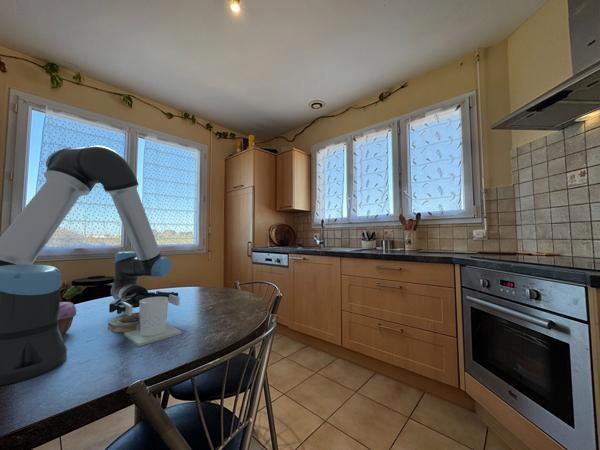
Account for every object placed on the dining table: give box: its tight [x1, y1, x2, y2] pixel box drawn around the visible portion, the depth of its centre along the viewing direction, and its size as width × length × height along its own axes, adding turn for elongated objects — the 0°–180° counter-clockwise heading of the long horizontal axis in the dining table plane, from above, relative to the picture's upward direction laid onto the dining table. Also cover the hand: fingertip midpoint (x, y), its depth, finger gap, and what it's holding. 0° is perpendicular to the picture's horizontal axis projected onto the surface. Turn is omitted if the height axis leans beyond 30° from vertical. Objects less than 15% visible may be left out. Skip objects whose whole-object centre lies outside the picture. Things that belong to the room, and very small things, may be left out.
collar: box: [107, 311, 140, 333], centre depth 87 cm, size 15×15×2 cm
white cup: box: [138, 297, 169, 336], centre depth 77 cm, size 8×8×10 cm
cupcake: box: [59, 301, 77, 335], centre depth 77 cm, size 9×9×10 cm
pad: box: [123, 322, 182, 348], centre depth 77 cm, size 12×12×1 cm
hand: (156, 305), depth 77 cm, fingers open, 13 cm apart
